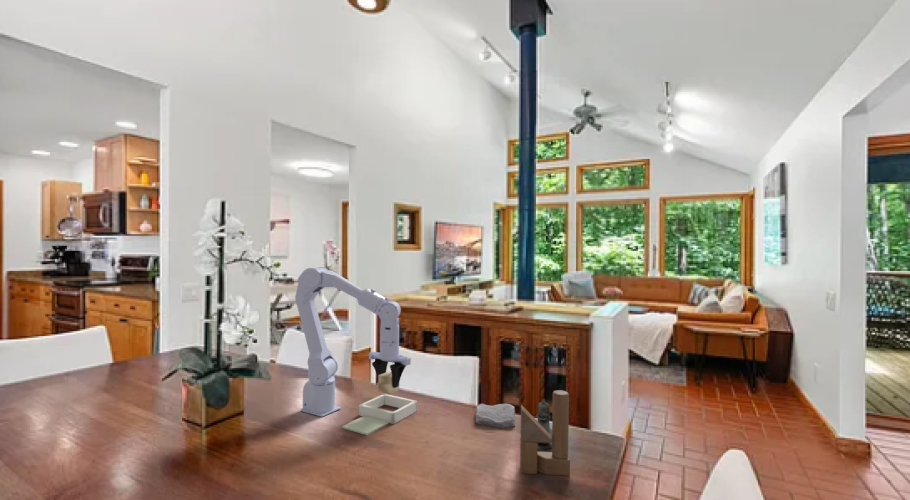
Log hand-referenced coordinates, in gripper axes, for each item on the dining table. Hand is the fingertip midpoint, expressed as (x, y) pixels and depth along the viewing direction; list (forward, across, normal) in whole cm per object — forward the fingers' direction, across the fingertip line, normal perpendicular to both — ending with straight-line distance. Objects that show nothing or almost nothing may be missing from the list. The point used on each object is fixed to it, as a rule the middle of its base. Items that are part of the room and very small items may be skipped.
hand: (388, 385), depth 129 cm
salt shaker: (+8, -48, -3) cm, 48 cm away
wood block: (+2, 0, 0) cm, 2 cm away
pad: (+8, 0, +11) cm, 14 cm away
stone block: (+9, -31, -11) cm, 34 cm away
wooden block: (+8, -52, +9) cm, 53 cm away
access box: (+8, 0, 0) cm, 8 cm away
